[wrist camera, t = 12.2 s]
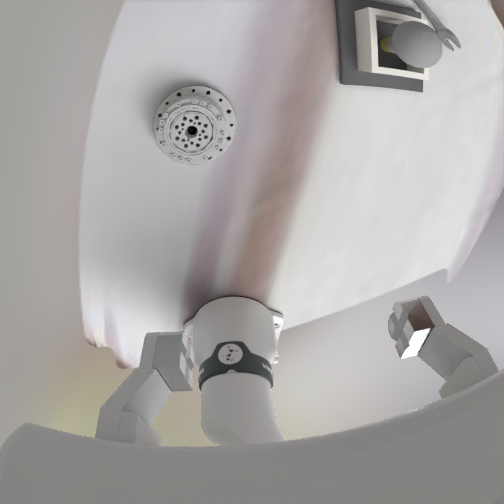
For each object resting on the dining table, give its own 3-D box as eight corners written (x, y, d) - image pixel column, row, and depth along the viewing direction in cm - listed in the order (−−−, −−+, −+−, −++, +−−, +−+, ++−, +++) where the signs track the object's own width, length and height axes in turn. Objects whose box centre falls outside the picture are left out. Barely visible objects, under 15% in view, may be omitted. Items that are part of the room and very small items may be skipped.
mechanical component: (218, 171, 37) (249, 102, 32) (217, 185, 33) (252, 107, 28) (146, 147, 34) (171, 75, 29) (137, 159, 30) (164, 76, 25)
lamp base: (418, 91, 30) (439, 97, 26) (340, 83, 30) (356, 87, 26) (416, 13, 23) (438, 11, 19) (334, -3, 23) (350, -11, 19)
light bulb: (357, 42, 26) (401, 37, 18) (382, 18, 24) (429, 10, 16) (386, 73, 28) (434, 80, 20) (409, 49, 26) (459, 51, 18)
